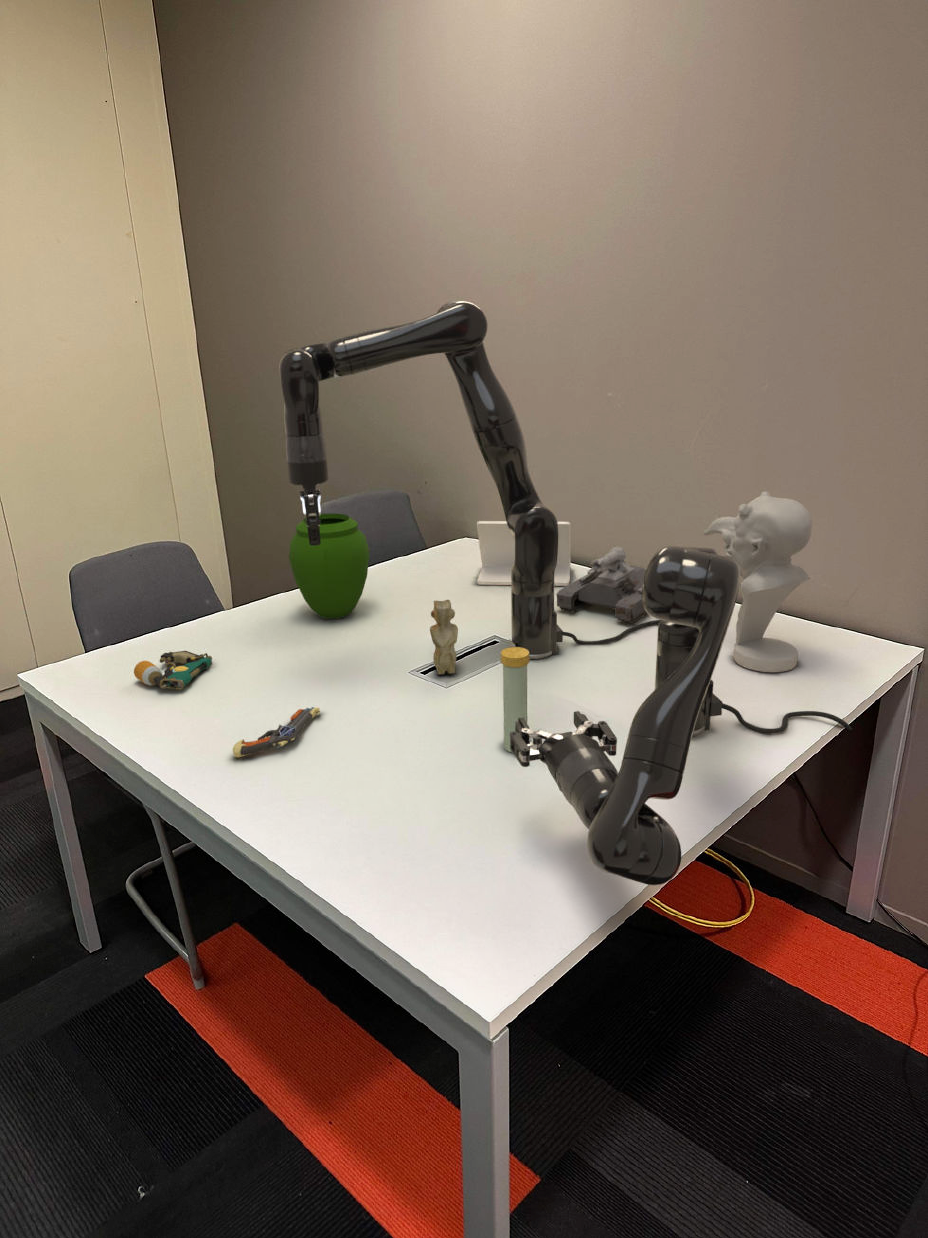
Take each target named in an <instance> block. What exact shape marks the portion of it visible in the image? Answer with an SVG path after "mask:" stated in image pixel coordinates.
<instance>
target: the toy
mask: <svg viewBox="0 0 928 1238" xmlns="http://www.w3.org/2000/svg"><path fill="white" fill-rule="evenodd" d="M626 557H627V556H626V551H625V549H624V548H622V547H621V546H614V547H612V548H611V549H610V550H609V552H608V553H607V554H605V555H604V556H601V557H599V558H598V559H597V557H596V558H594V559H593V560H592V561H590V562H589V563H590V564H591V565H592V567H591V568H590V569H589V570H587V573H586V575H584V576H582V577H580V578H578V579H577V580H575V581H573V582H570V583H569V585H567V586H563V587H562V588H560V589H559V590H558V591H557V592H556V607H558V608H559V609H560V610H562V611H566V612H572V613H575V612H577V611H579V610H581V609H582V608H585V607H586V606H588V605H592V606H598V607H602V608H603V607H604V608H609V609H613V610H614V618H615V619H617V620H618V621H621V622H626V623H631V624H634V623H635V622H637V621H638V620H640V619H641V618H642V617H644V616H645V615H647V614H648V613H647V612H646V611H645V609H644V606H643V602H642V583H643V578H644V575H645V572H646V568H644V567H641V566H635V565H629V564H628V563H627V562H626V561H625V559H626Z"/></svg>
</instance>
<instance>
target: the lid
mask: <svg viewBox="0 0 928 1238" xmlns="http://www.w3.org/2000/svg"><path fill="white" fill-rule="evenodd" d="M530 660H531V659H530V654H529V651H528V650H527V649H525V648H521V647H511V646H510V647H506V648H503V649H502V650H501V651H500V663H501V664H502V666H503V665H505V666H508V667H522V666H525V665H527V666H528V664H529V663H530Z"/></svg>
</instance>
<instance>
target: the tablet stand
mask: <svg viewBox="0 0 928 1238" xmlns="http://www.w3.org/2000/svg"><path fill="white" fill-rule="evenodd" d="M557 522H558V558H557V565H556V568H555V571H554V587H556V586H557V587H566V586H567V585H569V584H570V580H571V579H570V578H571V565H572V564H571V560H572V558H571V522H569V521H557ZM476 531H477V537H478V544H479V551H480V557H481V558H480V559H481V570H480V573H479V575H478V577H477V580H476V581H477V582H476V584H478V585H484V586H485V585H486V586H487V585H489V586H490V585H491V586H511V566H512V564H513V563H514V561H515V538H514V537H513V536H512V534H511V533H510V531H509V529H508V526H507V522H506V520H505V521H504V520H477V522H476Z"/></svg>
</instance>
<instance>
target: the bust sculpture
mask: <svg viewBox="0 0 928 1238" xmlns="http://www.w3.org/2000/svg"><path fill="white" fill-rule="evenodd" d="M812 530H813V522H812V516H811V515H810V512H809V511H808V509H807V508H806V507H805V506H804V505H803V504H802V503H800V502H799V501H797V500H795V499H791V498H783V497H774V496H771V494H770V492H769V491H762V492H761V494H760V496H757V497H756V498H754V499H753V500H751V501H749V502H748V504H746V503H742V504H740V505H739V507H738V511H737V516H736V517H732V516H723V517H720V518H716V519H715V520H713V522H711V523H710V525H709V526H708V527H707V528H706V529H705V530H704V531H703V534H702V535H703V536H710V535H714V534H721V535H722V540H723V542H724V543H725V544H726V545H725V546H724V548H723V552H724V554H725V557H728V558H732V559H734V560H735V561H736V562H737V563H738V565H739V568H740V577H742V578H743V580H742V581H741V583H740V584H739V591H740V593H741V597H742V599H743V600H742V602H741V604H740V607H739V610H738V613H737V621H736V625H735V633H736V634H735V643H734V645H733V653H732V654H733V655H732V658H733V661H734V662H735V663H736V664H738V665H739V666H741V667H743V668H745V669H749V670H751V671H756V672H761V673H782V672H786V671H791V670H793V669H794V668H795V667H796V666H797V664H798V663H797V662H798V656H799V650H798V649H797V647H796V646H794V645H793V644H792V643H789V642H787V641H784V640H782V639H781V640H780V639H777V638H776V639H775V638H770V637H764V635H765V633H766V631H767V629H768V627H769V625H770V623H771V621H772V619H773V618H774V616H775V614H776V612H778V610H779V609H780V607H781V606H782V605H783V603H784V601H786V599H787V598H788V597H789V595H791V594H792V593H793V592H794V590H796V589H797V588H798V587H799V586H801V585H802V584H803V583H805V582H807V581H808V580H811V577H810V575H809V574H808V573H807V571H806V570H805V569H804V568H802V567H801V566H800V565H795V564H792V556H793V555H796V554H799V552H801V551H802V550H804V548H805V547H806V546H807V545H808V544H809V542H810V538H811V535H812Z"/></svg>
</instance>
